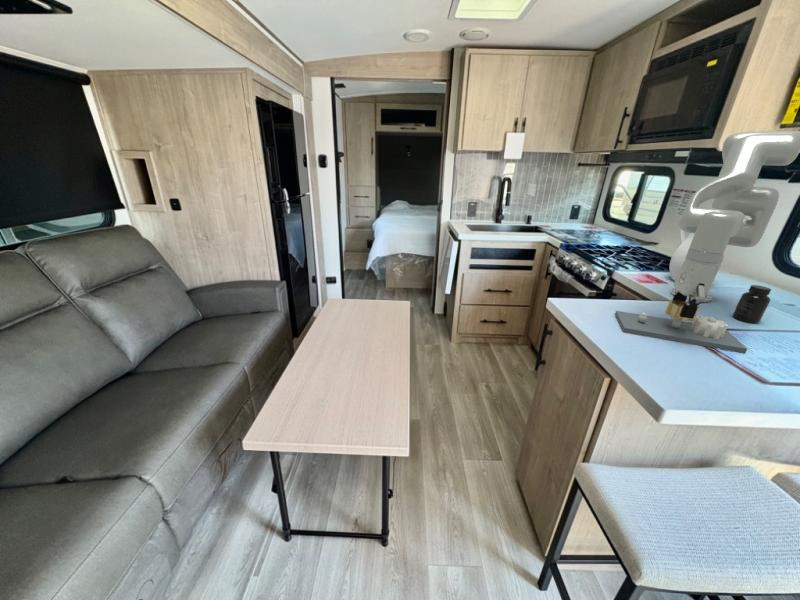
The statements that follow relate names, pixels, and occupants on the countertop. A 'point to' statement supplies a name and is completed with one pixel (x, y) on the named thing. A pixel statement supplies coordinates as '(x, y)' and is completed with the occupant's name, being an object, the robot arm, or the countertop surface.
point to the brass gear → (677, 310)
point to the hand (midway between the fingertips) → (681, 311)
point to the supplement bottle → (752, 304)
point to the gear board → (681, 330)
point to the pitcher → (680, 254)
